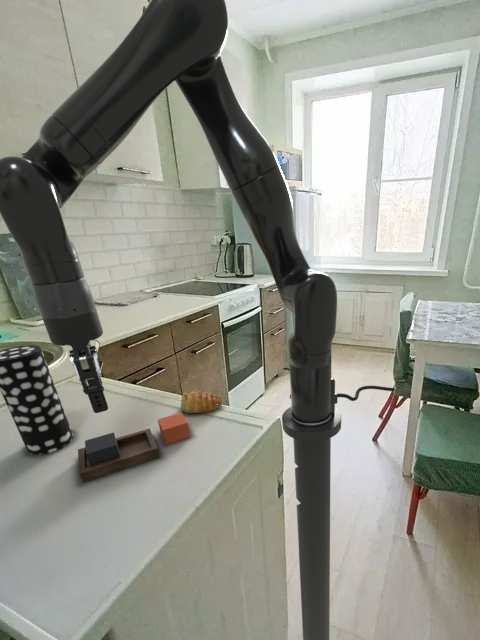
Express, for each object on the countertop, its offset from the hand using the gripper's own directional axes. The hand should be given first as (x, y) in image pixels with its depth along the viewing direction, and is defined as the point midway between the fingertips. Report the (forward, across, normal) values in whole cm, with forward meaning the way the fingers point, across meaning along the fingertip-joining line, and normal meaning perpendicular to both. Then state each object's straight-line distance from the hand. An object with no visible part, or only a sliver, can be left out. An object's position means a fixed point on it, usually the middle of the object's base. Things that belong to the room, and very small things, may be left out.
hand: (99, 401), depth 62 cm
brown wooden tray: (+12, 0, 0) cm, 13 cm away
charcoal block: (+12, 0, +2) cm, 12 cm away
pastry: (+13, +11, -19) cm, 26 cm away
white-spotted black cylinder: (+12, +14, +12) cm, 22 cm away
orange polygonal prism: (+13, +2, -11) cm, 17 cm away
